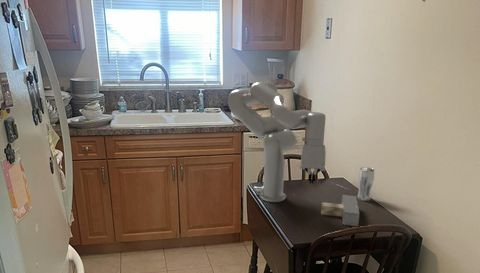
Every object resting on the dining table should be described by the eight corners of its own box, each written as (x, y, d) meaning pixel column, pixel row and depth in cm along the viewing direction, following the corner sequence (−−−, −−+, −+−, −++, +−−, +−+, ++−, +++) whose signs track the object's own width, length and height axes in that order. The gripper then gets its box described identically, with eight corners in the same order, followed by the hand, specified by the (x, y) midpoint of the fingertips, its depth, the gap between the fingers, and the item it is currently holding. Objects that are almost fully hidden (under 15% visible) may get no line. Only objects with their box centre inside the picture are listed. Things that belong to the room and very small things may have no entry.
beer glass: (355, 200, 179) (359, 170, 175) (356, 194, 185) (360, 166, 182) (370, 202, 177) (374, 172, 173) (371, 197, 183) (375, 168, 179)
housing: (342, 224, 153) (344, 211, 152) (341, 206, 171) (342, 194, 170) (357, 226, 152) (359, 213, 151) (354, 207, 170) (356, 196, 169)
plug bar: (320, 214, 162) (321, 205, 161) (321, 210, 166) (321, 202, 165) (351, 218, 160) (352, 209, 159) (351, 214, 164) (352, 205, 163)
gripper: (296, 142, 156) (293, 183, 160) (332, 145, 153) (329, 187, 157) (297, 138, 163) (294, 177, 167) (332, 141, 160) (329, 181, 164)
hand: (311, 182), depth 162 cm, fingers closed
